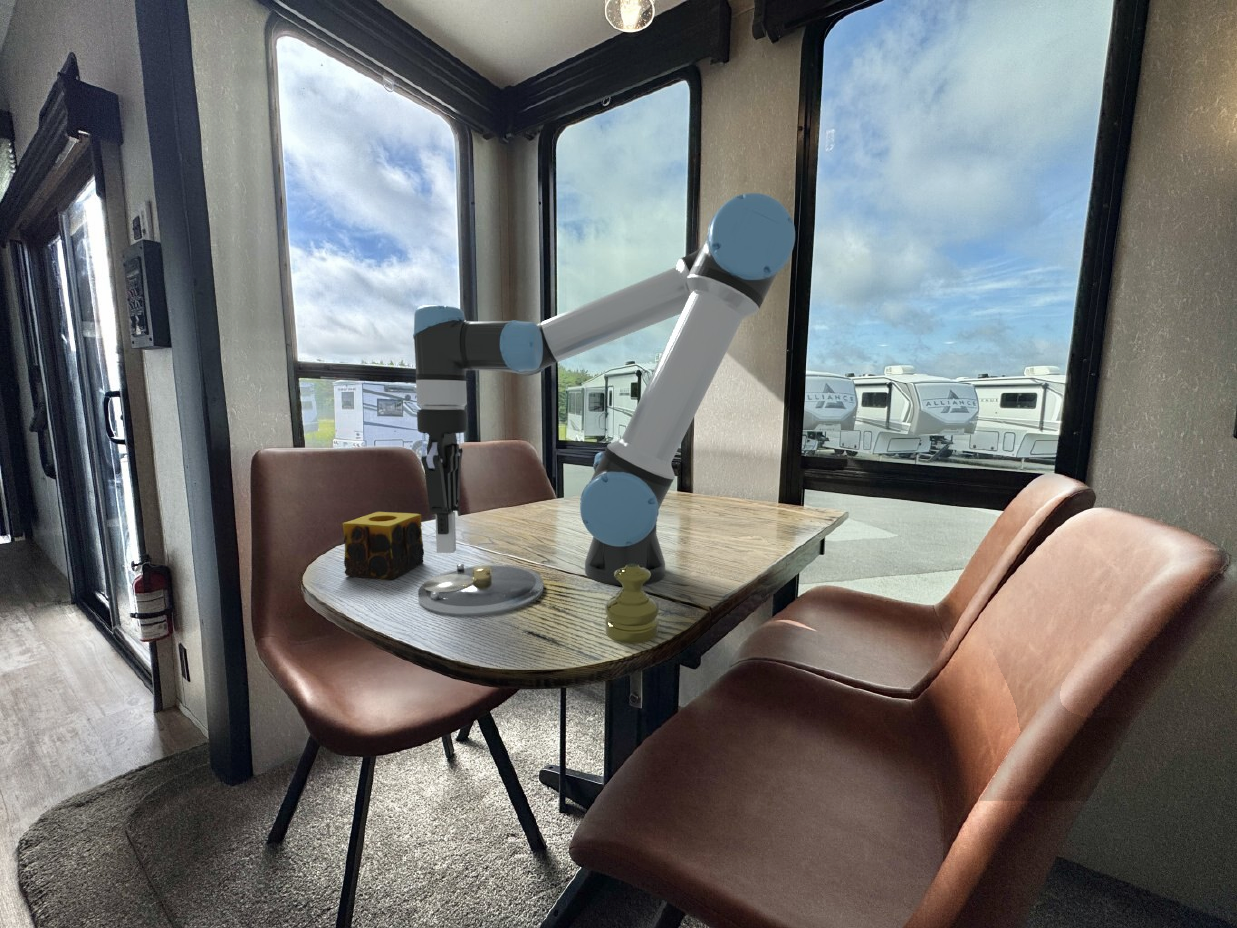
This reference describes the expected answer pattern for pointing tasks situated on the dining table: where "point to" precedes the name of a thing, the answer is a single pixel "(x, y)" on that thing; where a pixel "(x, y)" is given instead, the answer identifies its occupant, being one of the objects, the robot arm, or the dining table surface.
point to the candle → (383, 545)
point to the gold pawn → (632, 608)
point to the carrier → (480, 590)
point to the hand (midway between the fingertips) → (446, 551)
